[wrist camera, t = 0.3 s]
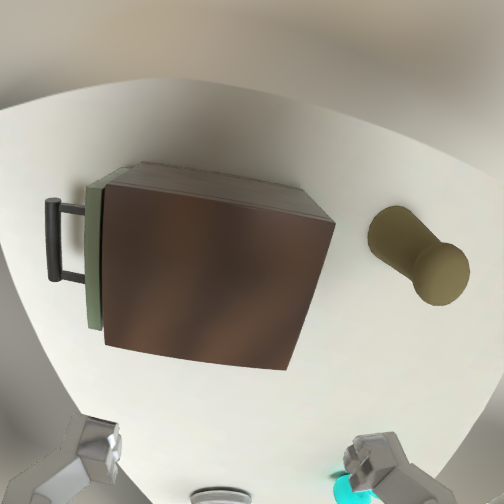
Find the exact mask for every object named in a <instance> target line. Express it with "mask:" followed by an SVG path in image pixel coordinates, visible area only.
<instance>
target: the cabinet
mask: <svg viewBox="0 0 504 504" xmlns="http://www.w3.org/2000/svg"><path fill="white" fill-rule="evenodd" d="M335 225H336V223H335V222H334V221H333V220H332V219H331V218H330V217H329V216H328V215H327V214H326V213H325V212H324V211H323V210H322V209H321V208H320V207H319V206H318V204H317V203H316V202H315V201H314V200H313V199H312V198H311V197H310V196H309V195H308V194H307V193H306V192H305V191H304V190H303V189H298V188H293V187H289V186H284V185H279V184H274V183H269V182H264V181H259V180H254V179H248V178H243V177H237V176H232V175H226V174H221V173H215V172H209V171H203V170H197V169H190V168H184V167H177V166H171V165H164V164H157V163H149V162H141V163H140V164H138V165H136V166H135V167H133V168H131V169H130V170H128V171H126V172H125V173H123V174H121V175H120V176H118V177H116V178H115V179H113V180H112V181H110V182H108V183H107V184H106V185H105V198H104V213H103V236H102V301H103V324H104V339H105V345H108V346H113V347H117V348H122V349H127V350H132V351H137V352H143V353H148V354H154V355H160V356H166V357H172V358H178V359H185V360H192V361H199V362H206V363H214V364H222V365H231V366H240V367H250V368H261V369H272V370H287V367H288V365H289V362H290V359H291V357H292V354H293V351H294V349H295V346H296V343H297V340H298V338H299V335H300V332H301V329H302V326H303V324H304V321H305V318H306V315H307V312H308V309H309V306H310V303H311V301H312V298H313V295H314V292H315V289H316V286H317V283H318V279H319V276H320V273H321V270H322V267H323V264H324V261H325V258H326V254H327V251H328V248H329V245H330V242H331V238H332V235H333V232H334V228H335Z"/></svg>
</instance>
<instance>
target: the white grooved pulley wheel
mask: <svg viewBox="0 0 504 504" xmlns="http://www.w3.org/2000/svg"><path fill="white" fill-rule="evenodd" d="M190 501H191V503H192V504H251V502H252V499H251V498H250V497H249V496H248V495H246V494H243V493H240V492H234V491H224V490H217V491H205V492H200V493H197V494H195V495H193V496H192V497H191V499H190Z"/></svg>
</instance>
